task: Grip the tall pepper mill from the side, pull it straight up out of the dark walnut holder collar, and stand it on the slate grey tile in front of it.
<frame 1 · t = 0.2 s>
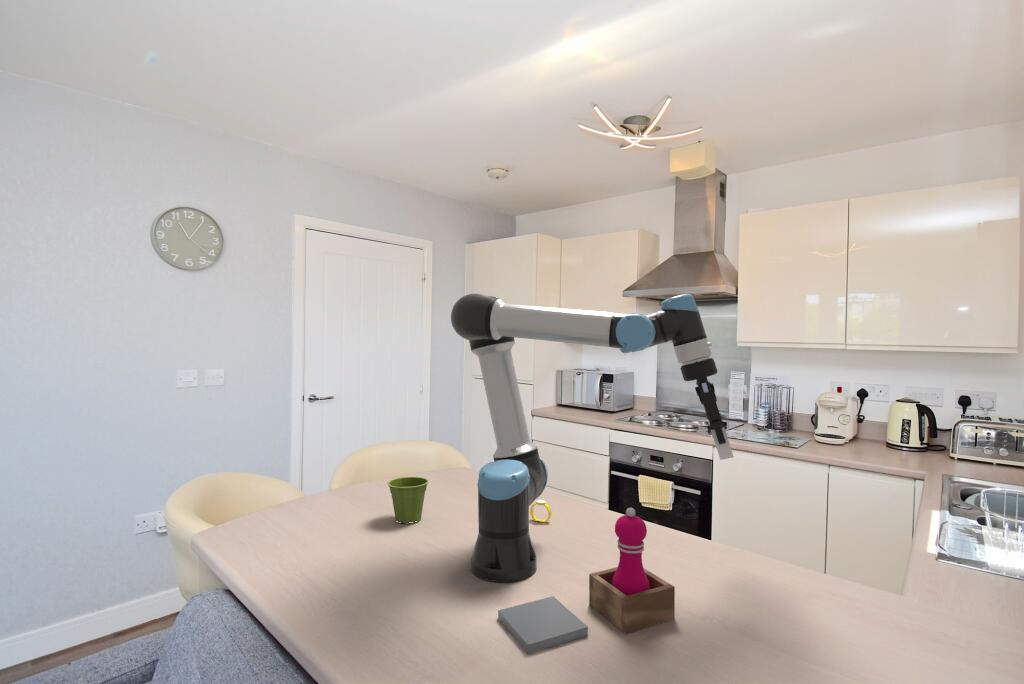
hand: (724, 452, 114), 27 cm above the table, tool tilted 15°, fingers open, 13 cm apart
pepper mill: (630, 612, 98), resting in walnut holder collar
slate tile: (541, 626, 93), on the table
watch: (540, 522, 147), on the table
plant pot: (408, 520, 148), on the table
walnut holder collar: (630, 611, 98), on the table
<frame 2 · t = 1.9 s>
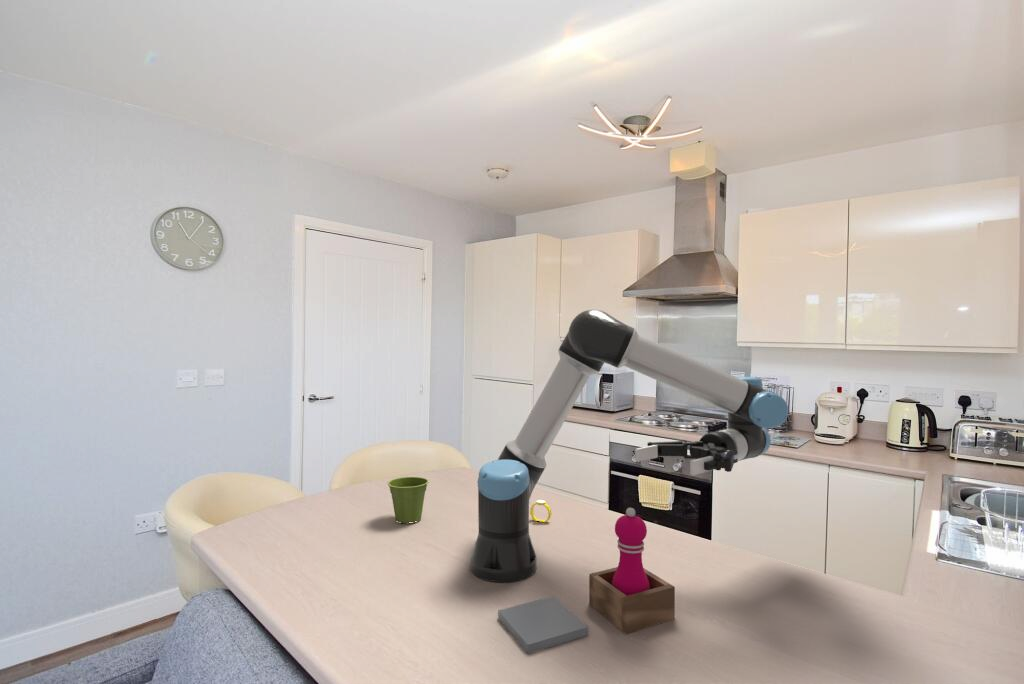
hand: (662, 461, 104), 28 cm above the table, tool horizontal, fingers open, 13 cm apart
nothing on the table moved.
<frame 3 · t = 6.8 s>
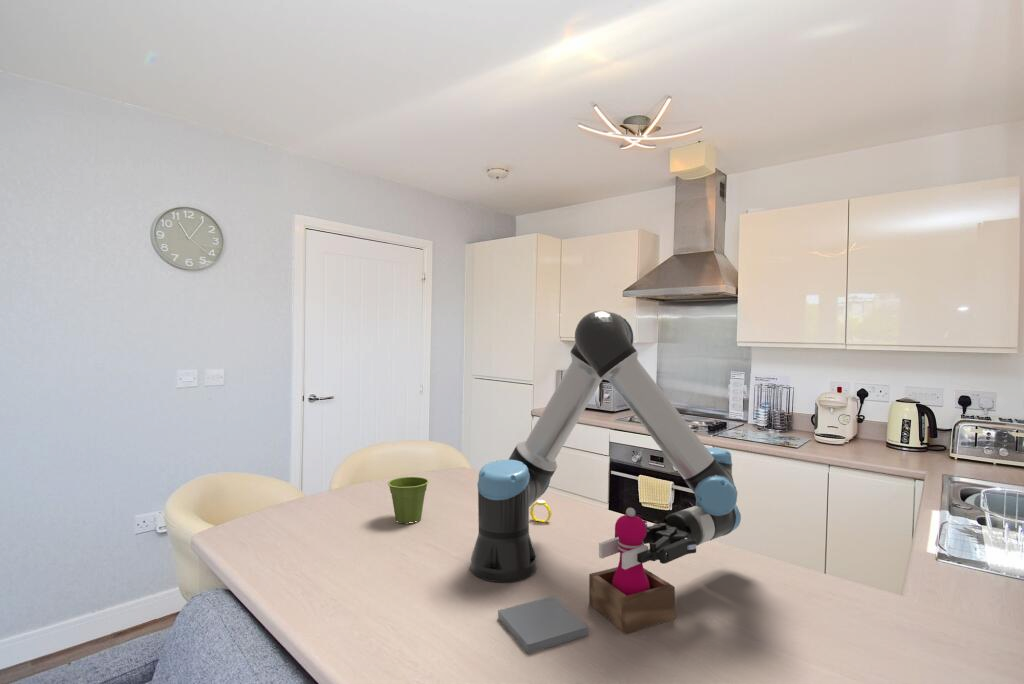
hand: (611, 555, 95), 12 cm above the table, tool horizontal, fingers closed on pepper mill, 5 cm apart
pepper mill: (630, 612, 98), resting in walnut holder collar, touching gripper
everything else where it was.
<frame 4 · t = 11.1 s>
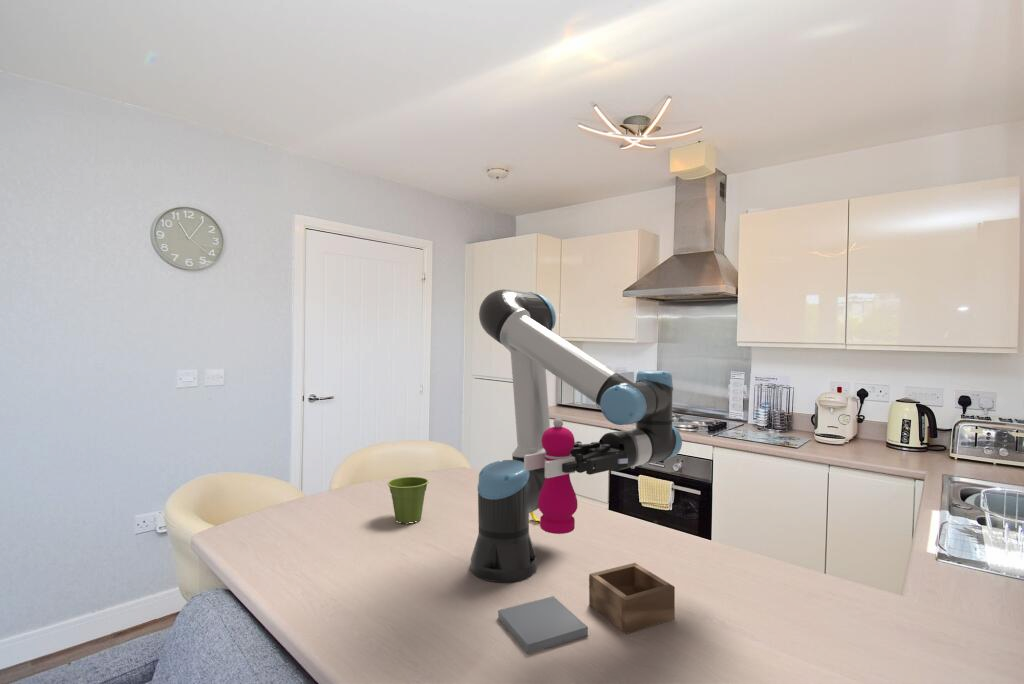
hand: (535, 466, 89), 30 cm above the table, tool horizontal, fingers closed on pepper mill, 5 cm apart
pepper mill: (557, 528, 93), point 18 cm above the table, touching gripper
everything else where it was.
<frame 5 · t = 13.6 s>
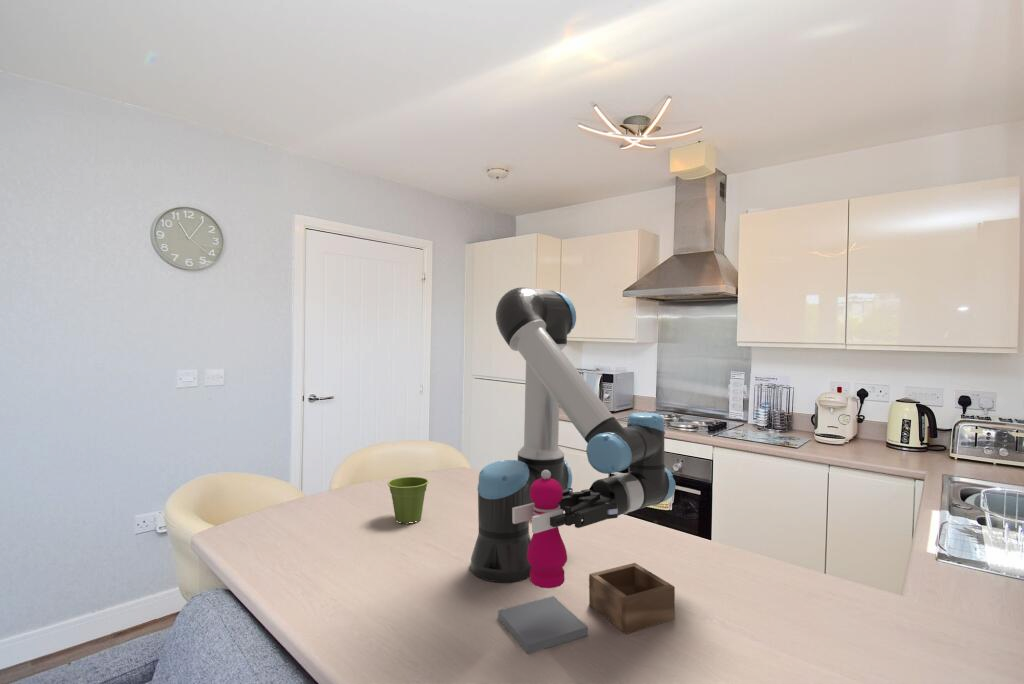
hand: (523, 520, 89), 21 cm above the table, tool horizontal, fingers closed on pepper mill, 5 cm apart
pepper mill: (547, 581, 92), point 9 cm above the table, touching gripper
everything else where it was.
when the fingers open (14 cm above the table, at t = 15.6 s): pepper mill stays where it is, resting on slate tile.
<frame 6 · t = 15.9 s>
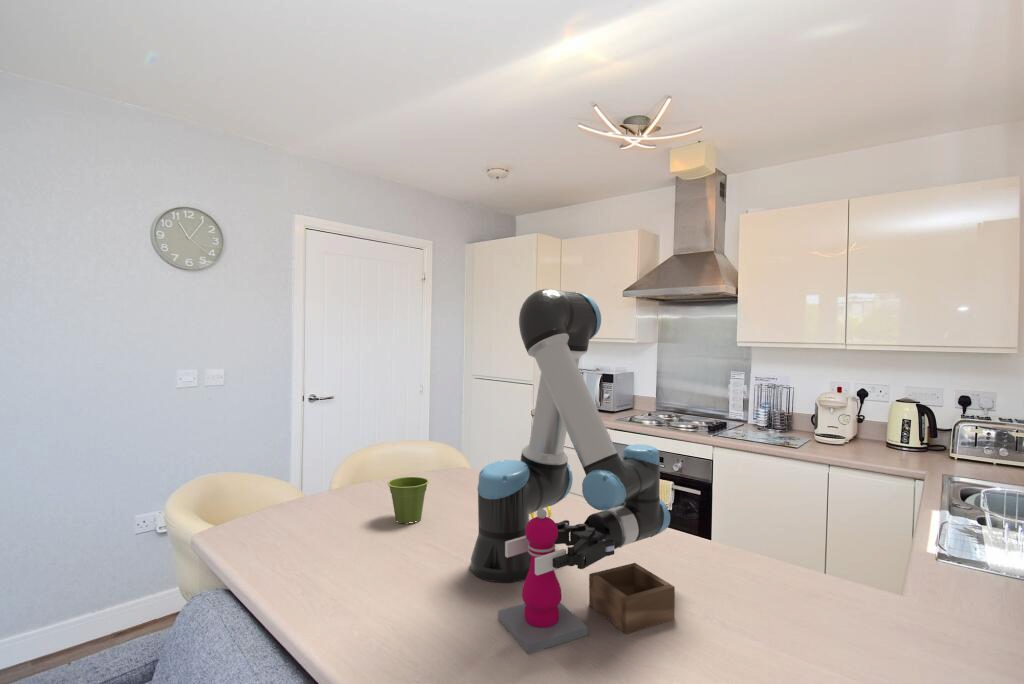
hand: (520, 557, 90), 14 cm above the table, tool horizontal, fingers open, 8 cm apart
pepper mill: (541, 619, 93), point 1 cm above the table, touching slate tile
everything else where it was.
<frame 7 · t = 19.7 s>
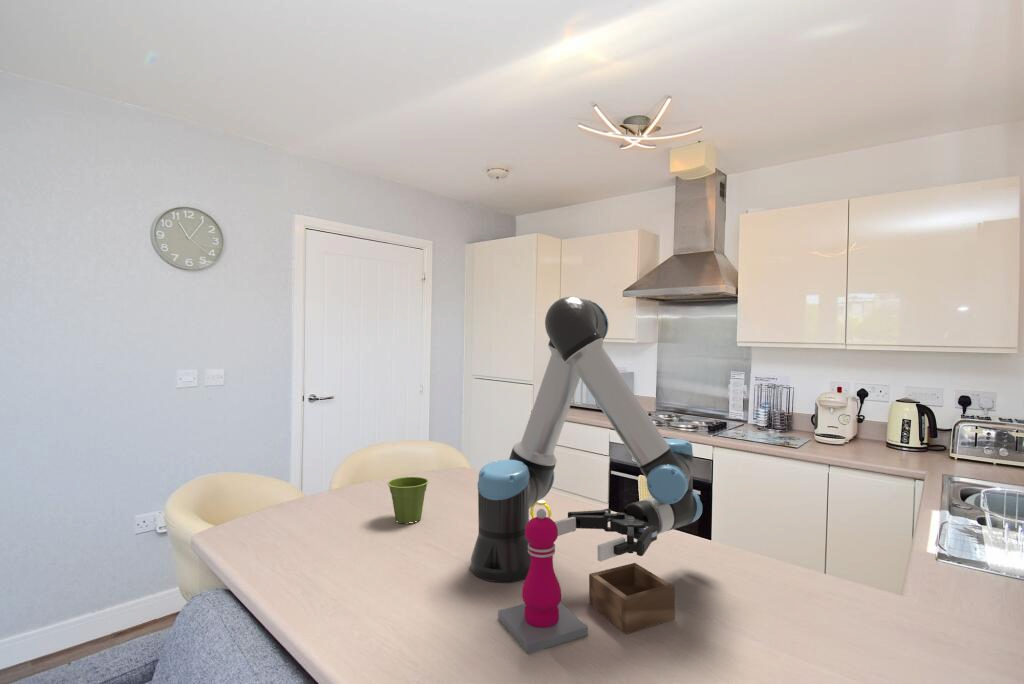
hand: (573, 541, 97), 14 cm above the table, tool horizontal, fingers open, 13 cm apart
nothing on the table moved.
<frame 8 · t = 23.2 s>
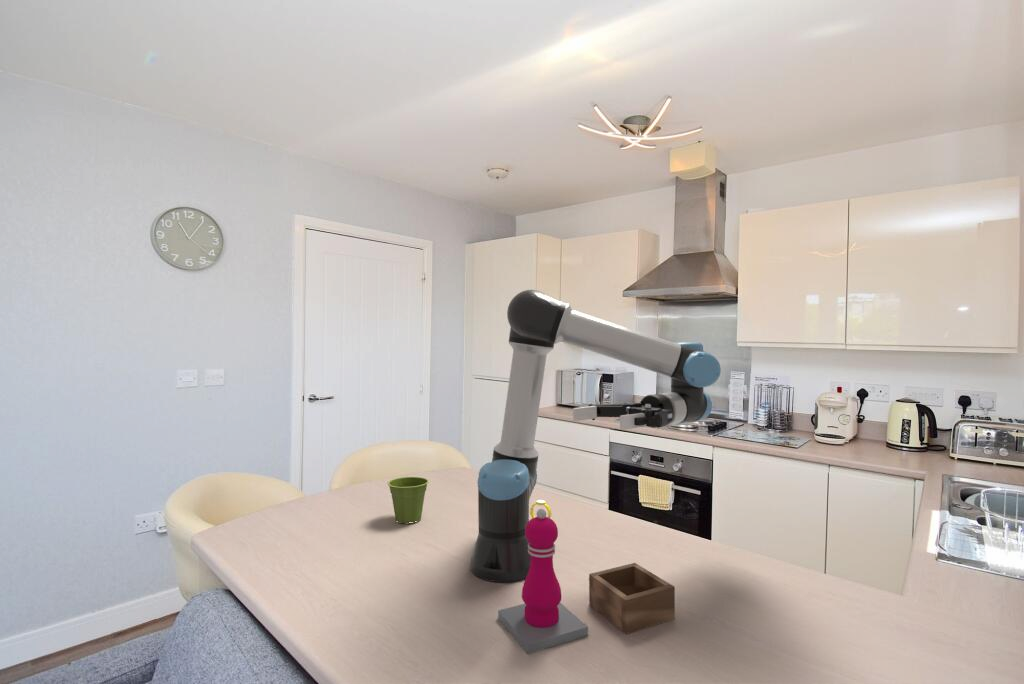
hand: (596, 418, 106), 36 cm above the table, tool horizontal, fingers open, 13 cm apart
nothing on the table moved.
at the end: pepper mill inside the target area on the slate tile (0.0 cm from its centre), point 1.3 cm above the slate tile's base; pepper mill tilted 0°; the gripper is holding nothing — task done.
